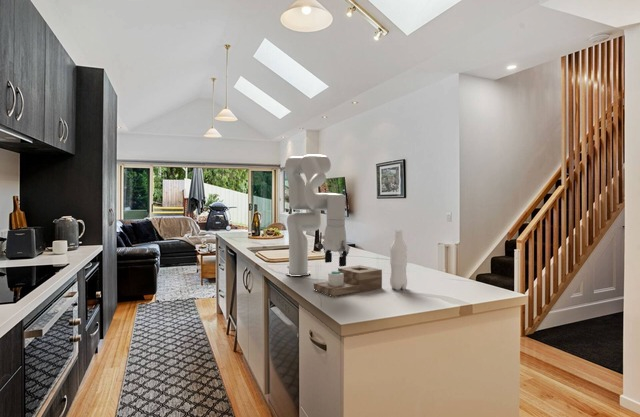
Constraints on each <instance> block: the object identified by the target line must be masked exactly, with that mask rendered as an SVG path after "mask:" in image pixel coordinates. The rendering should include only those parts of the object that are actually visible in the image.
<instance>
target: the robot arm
mask: <svg viewBox="0 0 640 417" xmlns="http://www.w3.org/2000/svg"><path fill="white" fill-rule="evenodd" d="M284 164H285V165H284V171H285V177H286V180H287V184H288V203H289V208H290V209H291V210H292V211H293V210H295V211H308V212H292V213H290V214H289V215H288V216H287V218H286V226H287V231H288V265H287V267H286V268H287V269H288V271H289V274H291V275H308V274H310V273H311V271H310V270H308V266H309V263H308V262H309V261H308V260H309V258H308V256H309V254H308V253H309V252H308V250H309V249H308V248H309V247H308V237H307V236H306V235H305V232H312V231H313V232H315V231H318V230H319V229H320V228H321V223H322V222H321V221H322V220H321V219H322V218H321V216H322V215H321V211H326V226H325V229H324V236H323V241H322V248H323V251H324V263H326V264H328V263H332V262H333V261H332V260H333V258H332V256H333V253H332V252H335V253H336V252H338V255H339V257H338V261H339V262H338V267H339V268H343V267H347V257H348V254H349V252H350V248H351V247H350V246H349V245H348V244H347V234H346V233H347V232H346V226H345V224H346V197H345V194H343V193H335V192H315V191H314V190H316V189H317V188H319V187H321V186H323V185H324V183H325V182H326V180H327V176H326V173H328V172H330V169H331V166H332V164H331V160H330V157H328V156H327V155H324V154H306V155H304V156H299V155H298V156H297V155H296V156H290V157H287V159H286V160H285V163H284ZM300 174H304V176H305V178H306V181H307V182H305V180H304V178H303V176H301V175H300ZM287 274H288V273H287ZM311 274H312V273H311Z"/></svg>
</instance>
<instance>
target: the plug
mask: <svg viewBox="0 0 640 417" xmlns="http://www.w3.org/2000/svg"><path fill="white" fill-rule="evenodd" d="M327 278H328V280H327V281H328V285H332V286H341V285H344V274H343V273H340V271H338V270H334V271H332V270H331V272H329V273H328V277H327Z"/></svg>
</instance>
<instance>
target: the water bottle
mask: <svg viewBox="0 0 640 417" xmlns="http://www.w3.org/2000/svg"><path fill="white" fill-rule="evenodd" d="M403 237H404V236H403V230H401V229H397V230H394V239H393V242H392V243H391V245H390V249H389V253H390V254H389V255H390V256H389V257H390V262H389V263H390V279H389V283H390V287H391V289H392V290H396V291H400V290H401V289H402V290H403V291H404V290H406V288H407V286H408V278H407V265H408V247H407V244H405V241H404V238H403Z"/></svg>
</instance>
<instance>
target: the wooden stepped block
mask: <svg viewBox="0 0 640 417" xmlns="http://www.w3.org/2000/svg"><path fill="white" fill-rule="evenodd" d="M337 271H340V273H343V274H344V285H341V286H332V285H328V280H327V281H320V282H315V283H313V290H314V289H315V290H317V291H320V292H323V293H326V294H328V295H327V296H329V295H331V296H330V297H332V296H334V297H333V298H336V297H335V296H337V297H341V295H343V296H347V294H348V295H352V294H357V293H363V292H369V291H374V290H378V289H383V285H382V284H383V269H380V268H376V267H371V266H365V265H362V264H360V265H352V266H343V267H339V268H337ZM317 291H316V292H317ZM320 292H319V293H320ZM323 293H322V294H323ZM326 294H325V295H326Z"/></svg>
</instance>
